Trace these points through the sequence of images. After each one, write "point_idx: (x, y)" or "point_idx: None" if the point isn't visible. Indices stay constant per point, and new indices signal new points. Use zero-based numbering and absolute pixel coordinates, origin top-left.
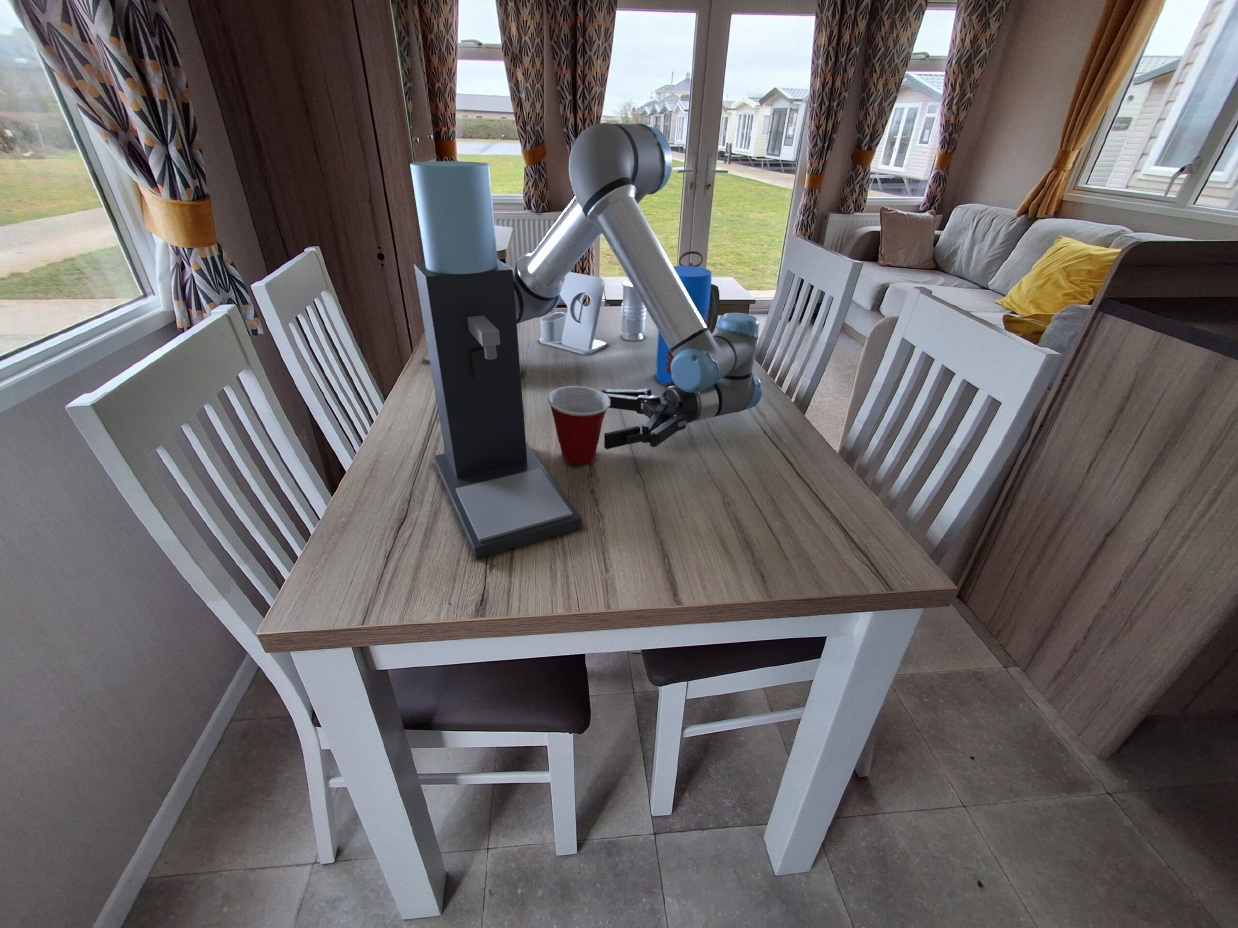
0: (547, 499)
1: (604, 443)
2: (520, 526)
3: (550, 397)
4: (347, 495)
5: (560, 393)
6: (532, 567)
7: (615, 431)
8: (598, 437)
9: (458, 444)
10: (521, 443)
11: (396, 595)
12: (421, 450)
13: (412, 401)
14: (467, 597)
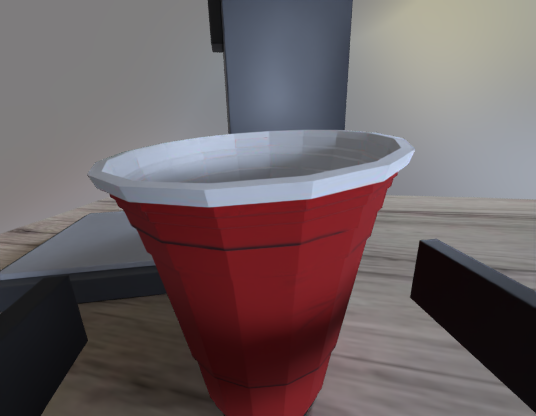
0: (83, 254)
1: (81, 322)
2: (63, 231)
3: (284, 133)
4: None
5: (345, 149)
6: (7, 257)
7: (18, 317)
8: (199, 347)
9: None
10: None
11: (106, 206)
12: None
13: (479, 203)
14: (46, 226)
